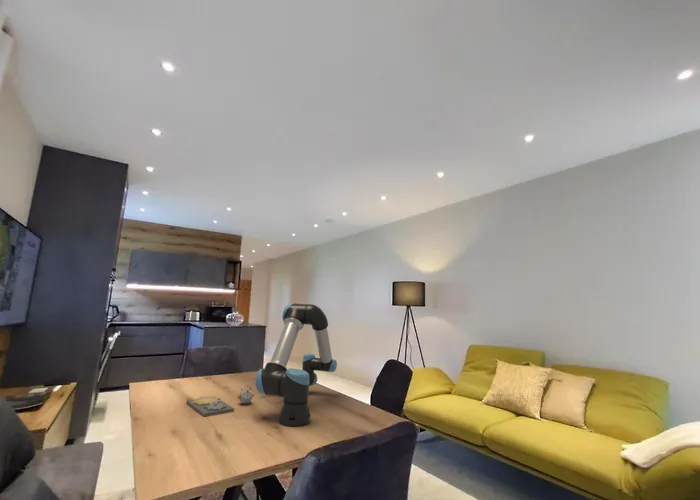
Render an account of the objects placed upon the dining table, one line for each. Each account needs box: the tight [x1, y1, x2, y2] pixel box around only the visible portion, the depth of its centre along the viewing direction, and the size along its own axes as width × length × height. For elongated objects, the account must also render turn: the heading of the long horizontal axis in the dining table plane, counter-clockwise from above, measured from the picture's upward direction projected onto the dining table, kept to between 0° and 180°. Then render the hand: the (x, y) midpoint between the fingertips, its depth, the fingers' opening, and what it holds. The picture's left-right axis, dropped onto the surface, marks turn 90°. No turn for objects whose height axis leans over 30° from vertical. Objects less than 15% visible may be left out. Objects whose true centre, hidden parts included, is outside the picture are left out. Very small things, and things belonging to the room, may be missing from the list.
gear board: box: [186, 395, 235, 418], centre depth 173 cm, size 26×15×5 cm, turn 43°
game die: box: [237, 387, 255, 406], centre depth 183 cm, size 9×8×10 cm
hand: (263, 386), depth 190 cm, fingers open, 13 cm apart
